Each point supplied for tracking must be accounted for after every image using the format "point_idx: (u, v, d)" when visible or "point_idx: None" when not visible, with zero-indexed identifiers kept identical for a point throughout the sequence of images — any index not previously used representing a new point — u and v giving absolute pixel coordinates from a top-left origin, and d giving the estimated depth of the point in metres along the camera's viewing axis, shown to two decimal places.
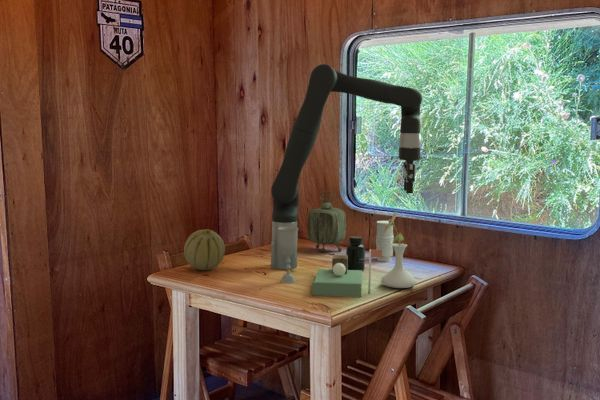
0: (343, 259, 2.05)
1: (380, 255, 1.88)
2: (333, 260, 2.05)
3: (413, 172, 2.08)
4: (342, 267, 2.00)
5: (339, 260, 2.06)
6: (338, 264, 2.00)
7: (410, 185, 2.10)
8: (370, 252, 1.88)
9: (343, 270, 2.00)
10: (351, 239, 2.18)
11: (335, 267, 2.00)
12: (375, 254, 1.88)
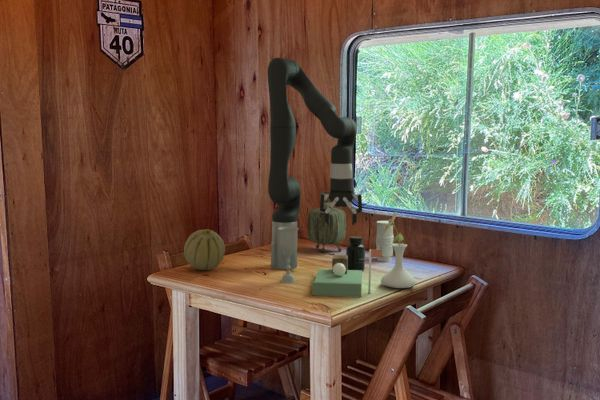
0: (343, 259, 2.05)
1: (380, 255, 1.88)
2: (333, 260, 2.05)
3: None
4: (342, 267, 2.00)
5: (339, 260, 2.06)
6: (338, 264, 2.00)
7: None
8: (370, 252, 1.88)
9: (343, 270, 2.00)
10: (351, 239, 2.18)
11: (335, 267, 2.00)
12: (375, 254, 1.88)
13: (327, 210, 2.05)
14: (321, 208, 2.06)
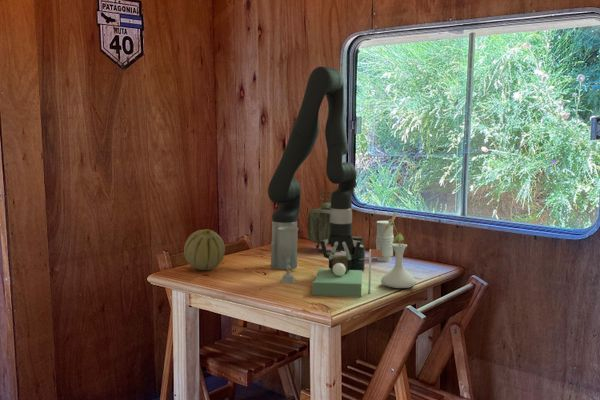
0: (343, 259, 2.05)
1: (380, 255, 1.88)
2: (333, 260, 2.05)
3: None
4: (342, 267, 2.00)
5: (339, 260, 2.06)
6: (338, 264, 2.00)
7: None
8: (370, 252, 1.88)
9: (343, 270, 2.00)
10: None
11: (335, 267, 2.00)
12: (375, 254, 1.88)
13: (330, 256, 2.07)
14: (325, 254, 2.07)
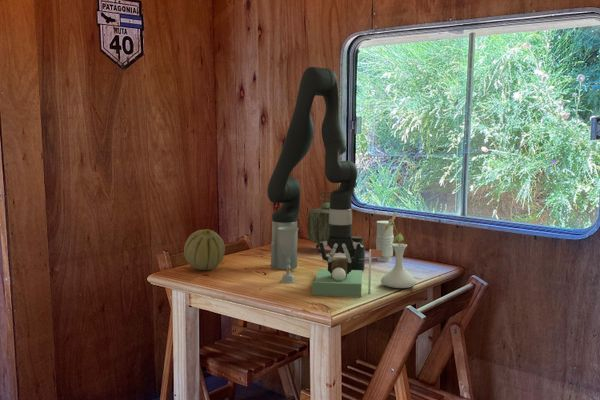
0: (343, 261, 1.97)
1: (380, 255, 1.88)
2: (332, 262, 1.96)
3: None
4: (342, 279, 1.95)
5: (338, 262, 1.97)
6: (338, 280, 1.94)
7: None
8: (370, 252, 1.88)
9: None
10: None
11: None
12: (375, 254, 1.88)
13: (329, 259, 1.98)
14: (324, 257, 1.99)
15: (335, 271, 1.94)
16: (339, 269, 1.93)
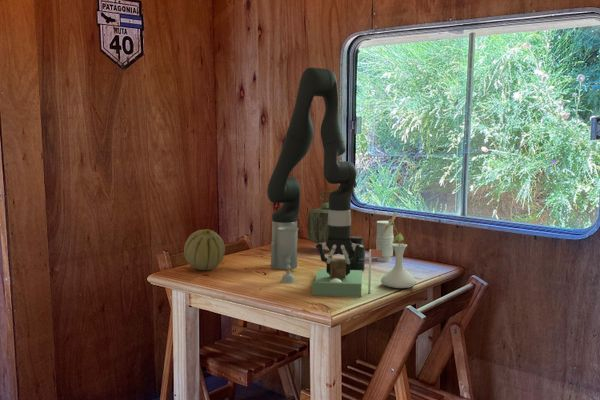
0: (341, 263, 1.96)
1: (380, 255, 1.88)
2: (331, 264, 1.95)
3: None
4: None
5: (337, 264, 1.96)
6: None
7: (349, 266, 1.98)
8: (370, 252, 1.88)
9: (340, 280, 1.91)
10: (351, 239, 2.18)
11: None
12: (375, 254, 1.88)
13: (328, 260, 1.97)
14: (322, 258, 1.97)
15: None
16: None
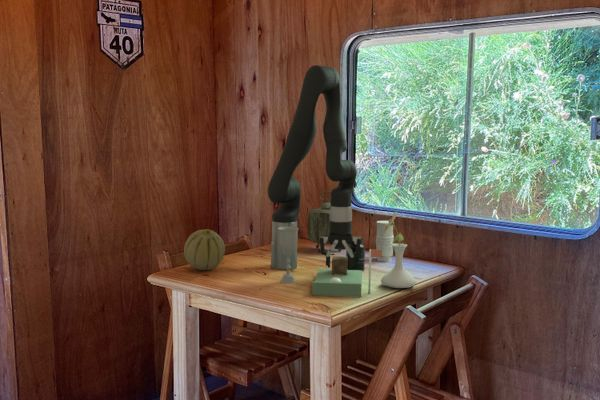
0: (343, 260, 2.04)
1: (380, 255, 1.88)
2: (333, 261, 2.03)
3: None
4: None
5: (339, 261, 2.04)
6: None
7: None
8: (370, 252, 1.88)
9: None
10: None
11: None
12: (375, 254, 1.88)
13: (328, 253, 2.05)
14: (322, 251, 2.05)
15: None
16: None
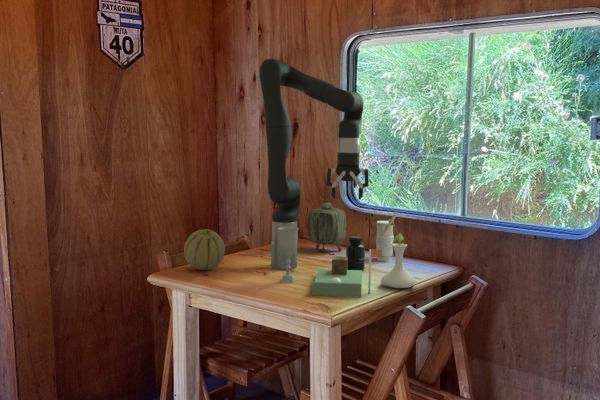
0: (343, 260, 2.04)
1: (380, 255, 1.88)
2: (333, 261, 2.03)
3: None
4: None
5: (339, 261, 2.04)
6: None
7: (362, 190, 2.07)
8: (370, 252, 1.88)
9: None
10: (351, 239, 2.18)
11: None
12: (375, 254, 1.88)
13: (334, 184, 2.07)
14: (328, 182, 2.07)
15: None
16: None
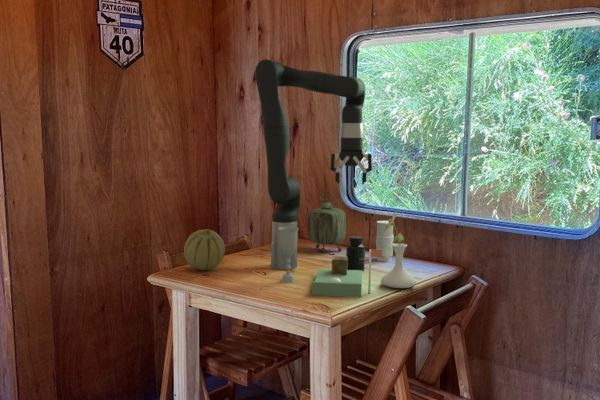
0: (343, 260, 2.04)
1: (380, 255, 1.88)
2: (333, 261, 2.03)
3: None
4: None
5: (339, 261, 2.04)
6: None
7: None
8: (370, 252, 1.88)
9: None
10: (351, 239, 2.18)
11: None
12: (375, 254, 1.88)
13: (337, 169, 2.09)
14: (332, 167, 2.09)
15: None
16: None
